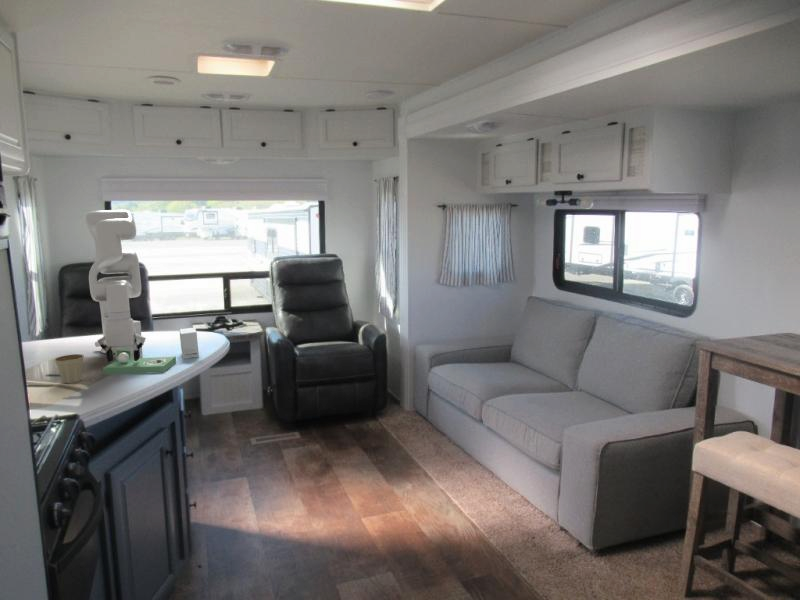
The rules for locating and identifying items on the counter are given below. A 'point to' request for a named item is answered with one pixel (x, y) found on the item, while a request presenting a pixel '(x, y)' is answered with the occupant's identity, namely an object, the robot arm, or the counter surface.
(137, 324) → the skincare box
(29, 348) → the counter surface
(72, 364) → the flower pot
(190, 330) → the skincare box
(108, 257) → the robot arm
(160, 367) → the putting mat
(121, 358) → the ball
